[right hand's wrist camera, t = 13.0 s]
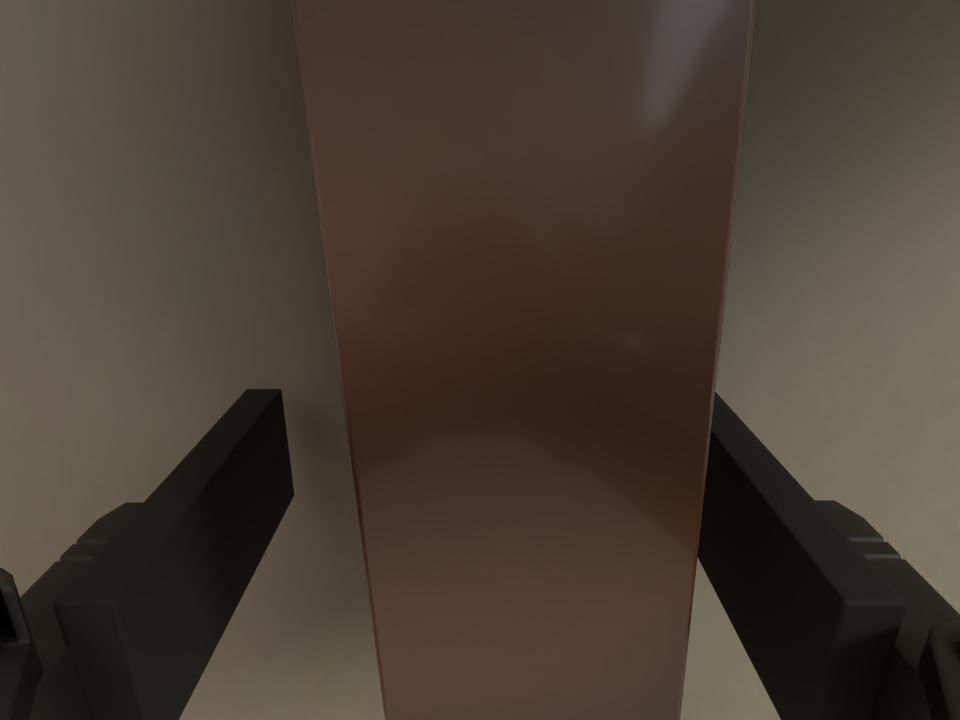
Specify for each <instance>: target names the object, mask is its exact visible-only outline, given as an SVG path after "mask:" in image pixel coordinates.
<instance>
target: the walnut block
mask: <svg viewBox="0 0 960 720" xmlns="http://www.w3.org/2000/svg"><path fill="white" fill-rule="evenodd" d="M290 1H291V9H292V17H293V24H294V32H295V39H296V47H297V55H298V62H299V70H300V77H301V85H302V92H303V100H304V108H305V115H306V123H307V130H308V138H309V146H310V153H311V161H312V168H313V176H314V184H315V191H316V199H317V206H318V214H319V222H320V229H321V237H322V244H323V252H324V259H325V267H326V275H327V282H328V290H329V297H330V305H331V313H332V320H333V328H334V335H335V343H336V351H337V358H338V366H339V373H340V381H341V389H342V396H343V404H344V411H345V419H346V427H347V434H348V442H349V449H350V457H351V464H352V472H353V480H354V487H355V495H356V502H357V510H358V518H359V525H360V533H361V540H362V548H363V556H364V563H365V571H366V578H367V586H368V594H369V601H370V609H371V616H372V624H373V631H374V639H375V647H376V654H377V662H378V669H379V677H380V685H381V692H382V700H383V707H384V715H385V720H680V714H681V705H682V695H683V686H684V677H685V667H686V658H687V649H688V639H689V630H690V621H691V611H692V602H693V593H694V583H695V574H696V565H697V555H698V546H699V537H700V527H701V518H702V509H703V499H704V490H705V481H706V471H707V462H708V453H709V443H710V434H711V425H712V415H713V406H714V397H715V387H716V378H717V369H718V359H719V350H720V341H721V331H722V322H723V313H724V303H725V294H726V285H727V275H728V266H729V257H730V247H731V238H732V229H733V219H734V210H735V201H736V191H737V182H738V173H739V163H740V154H741V145H742V135H743V126H744V117H745V107H746V98H747V89H748V79H749V70H750V61H751V51H752V42H753V33H754V23H755V14H756V5H757V0H290Z"/></svg>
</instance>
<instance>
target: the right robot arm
mask: <svg viewBox="0 0 960 720" xmlns="http://www.w3.org/2000/svg"><path fill="white" fill-rule="evenodd" d="M293 496H294V489H293V481H292V473H291V465H290V457H289V449H288V441H287V432H286V424H285V416H284V408H283V400H282V392H281V389H247V390H246V391H245V392H244V393H243V394H242V395H241V396H240V398H239V399H238V400H237V401H236V402H235V403H234V404H233V405H232V406H231V407H230V409H229V410H228V411H227V412H226V413H225V414H224V415H223V416H222V417H221V418H220V420H219V421H218V422H217V423H216V424H215V425H214V426H213V427H212V428H211V429H210V431H209V432H208V433H207V434H206V435H205V436H204V437H203V438H202V439H201V440H200V442H199V443H198V444H197V445H196V446H195V447H194V448H193V449H192V450H191V451H190V452H189V454H188V455H187V456H186V457H185V458H184V459H183V460H182V461H181V462H180V463H179V465H178V466H177V467H176V468H175V469H174V470H173V471H172V472H171V473H170V474H169V476H168V477H167V478H166V479H165V480H164V481H163V482H162V483H161V484H160V485H159V487H158V488H157V489H156V490H155V491H154V492H153V493H152V494H151V495H150V496H149V498H148V499H147V500H146V501H145V502H144V503H125V504H123V505H121V506H120V507H118V508H116V509H115V510H113V511H111V512H110V513H108V514H106V515H105V516H103V517H101V518H100V519H98V520H97V521H96V522H95V523H94V524H93V525H92V526H91V527H90V528H89V529H88V530H87V531H86V532H85V533H84V534H83V535H82V536H81V537H80V538H79V539H78V540H77V544H73V545H72V546H71V547H70V548H69V549H68V550H67V551H66V552H65V553H64V554H63V555H62V556H61V557H60V561H59V562H55V563H54V564H53V565H52V566H51V567H50V568H49V569H48V570H47V571H46V572H45V573H44V574H43V575H42V576H41V577H40V578H39V579H38V580H37V581H36V582H35V583H34V584H33V585H32V586H31V587H30V588H29V589H28V590H27V591H26V592H25V593H24V594H23V595H22V596H21V597H19V594H18V591H17V588H16V585H15V582H14V579H13V576H12V575H11V574H10V573H8V572H7V571H5V570H4V569H2V568H0V720H179V718H180V716H181V714H182V712H183V710H184V708H185V707H186V705H187V703H188V701H189V699H190V697H191V695H192V693H193V691H194V689H195V687H196V685H197V683H198V681H199V679H200V677H201V675H202V673H203V672H204V670H205V668H206V666H207V664H208V662H209V660H210V658H211V656H212V654H213V652H214V650H215V648H216V646H217V644H218V642H219V640H220V638H221V636H222V635H223V633H224V631H225V629H226V627H227V625H228V623H229V621H230V619H231V617H232V615H233V613H234V611H235V609H236V607H237V605H238V603H239V601H240V600H241V598H242V596H243V594H244V592H245V590H246V588H247V586H248V584H249V582H250V580H251V578H252V576H253V574H254V572H255V570H256V568H257V566H258V564H259V563H260V561H261V559H262V557H263V555H264V553H265V551H266V549H267V547H268V545H269V543H270V541H271V539H272V537H273V535H274V533H275V531H276V529H277V528H278V526H279V524H280V522H281V520H282V518H283V516H284V514H285V512H286V510H287V508H288V506H289V504H290V502H291V500H292V498H293ZM697 557H698V559H699V561H700V563H701V565H702V566H703V568H704V570H705V572H706V574H707V576H708V578H709V580H710V582H711V584H712V586H713V588H714V590H715V592H716V594H717V596H718V598H719V600H720V601H721V603H722V605H723V607H724V609H725V611H726V613H727V615H728V617H729V619H730V621H731V623H732V625H733V627H734V629H735V631H736V633H737V635H738V637H739V638H740V640H741V642H742V644H743V646H744V648H745V650H746V652H747V654H748V656H749V658H750V660H751V662H752V664H753V666H754V668H755V670H756V672H757V673H758V675H759V677H760V679H761V681H762V683H763V685H764V687H765V689H766V691H767V693H768V695H769V697H770V699H771V701H772V703H773V705H774V707H775V709H776V710H777V712H778V714H779V716H780V718H781V720H960V614H959V613H958V612H957V611H956V610H955V609H954V608H953V607H952V606H951V605H950V604H949V603H948V602H947V601H946V600H945V599H944V598H943V597H942V596H941V595H940V594H939V593H938V592H937V591H936V590H935V589H934V588H933V587H932V586H931V585H930V584H929V583H928V582H927V581H926V580H925V579H924V578H923V577H922V576H921V575H920V574H919V573H918V572H917V571H916V570H915V569H914V568H913V567H912V566H911V565H910V564H909V563H908V562H907V561H906V560H905V559H901V558H900V554H899V553H898V552H897V551H896V550H895V549H894V548H893V547H892V546H891V545H890V544H889V543H888V542H884V540H883V537H882V536H881V535H880V534H879V533H878V532H877V531H876V530H875V529H874V528H873V527H872V526H871V525H870V524H869V523H868V522H867V521H866V520H865V519H864V518H863V517H861V516H859V515H858V514H856V513H854V512H853V511H851V510H849V509H848V508H846V507H844V506H843V505H841V504H839V503H838V502H836V501H814V500H813V499H812V498H811V496H810V495H809V494H808V493H807V492H806V491H805V490H804V489H803V488H802V487H801V485H800V484H799V483H798V482H797V481H796V480H795V479H794V478H793V477H792V476H791V474H790V473H789V472H788V471H787V470H786V469H785V468H784V467H783V466H782V465H781V463H780V462H779V461H778V460H777V459H776V458H775V457H774V456H773V455H772V454H771V453H770V451H769V450H768V449H767V448H766V447H765V446H764V445H763V444H762V443H761V442H760V440H759V439H758V438H757V437H756V436H755V435H754V434H753V433H752V432H751V431H750V429H749V428H748V427H747V426H746V425H745V424H744V423H743V422H742V421H741V420H740V418H739V417H738V416H737V415H736V414H735V413H734V412H733V411H732V410H731V409H730V407H729V406H728V405H727V404H726V403H725V402H724V401H723V400H722V399H721V398H720V396H719V395H718V394H717V393H716V392H715V397H714V406H713V415H712V425H711V434H710V443H709V453H708V462H707V471H706V481H705V490H704V499H703V509H702V518H701V527H700V537H699V546H698V555H697Z"/></svg>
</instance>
